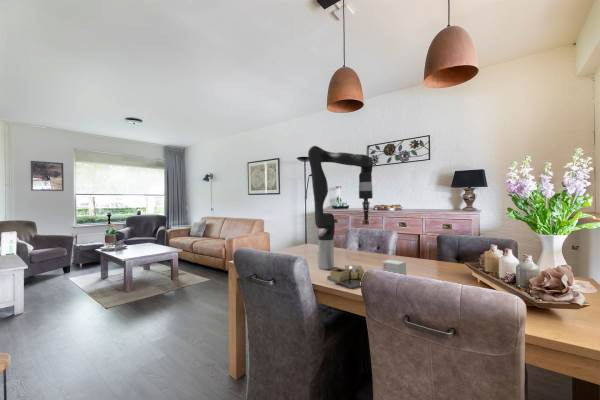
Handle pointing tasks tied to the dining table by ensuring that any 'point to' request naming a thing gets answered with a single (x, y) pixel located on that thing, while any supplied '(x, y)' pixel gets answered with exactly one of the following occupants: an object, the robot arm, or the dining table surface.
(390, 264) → the small box
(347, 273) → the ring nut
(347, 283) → the nut base plate
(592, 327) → the dining table surface
